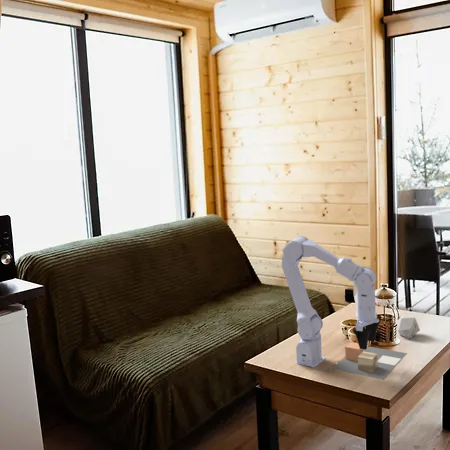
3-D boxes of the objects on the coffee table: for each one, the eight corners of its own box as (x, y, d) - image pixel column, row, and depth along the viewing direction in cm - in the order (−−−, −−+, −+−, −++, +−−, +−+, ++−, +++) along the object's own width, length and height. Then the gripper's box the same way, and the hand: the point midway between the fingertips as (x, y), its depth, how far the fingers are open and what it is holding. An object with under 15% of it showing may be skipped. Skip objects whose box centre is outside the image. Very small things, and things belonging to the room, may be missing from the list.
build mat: (383, 380, 178) (383, 379, 178) (331, 370, 188) (331, 368, 188) (407, 354, 197) (407, 352, 197) (358, 346, 207) (358, 344, 207)
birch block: (372, 372, 183) (372, 359, 183) (358, 369, 186) (357, 356, 186) (377, 366, 187) (377, 354, 187) (363, 363, 190) (363, 351, 190)
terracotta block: (359, 361, 192) (358, 349, 192) (345, 359, 195) (345, 346, 194) (364, 356, 196) (364, 344, 196) (351, 354, 199) (350, 342, 198)
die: (397, 341, 211) (413, 324, 207) (386, 324, 217) (401, 307, 213) (412, 344, 215) (428, 327, 211) (401, 328, 221) (416, 311, 217)
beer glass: (360, 312, 245) (359, 279, 243) (373, 315, 240) (373, 281, 238) (350, 316, 241) (349, 282, 239) (364, 319, 236) (363, 285, 233)
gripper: (370, 313, 176) (371, 354, 178) (385, 301, 188) (386, 339, 190) (349, 310, 180) (350, 350, 182) (365, 298, 192) (366, 336, 194)
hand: (367, 344), depth 186 cm, fingers open, 7 cm apart
